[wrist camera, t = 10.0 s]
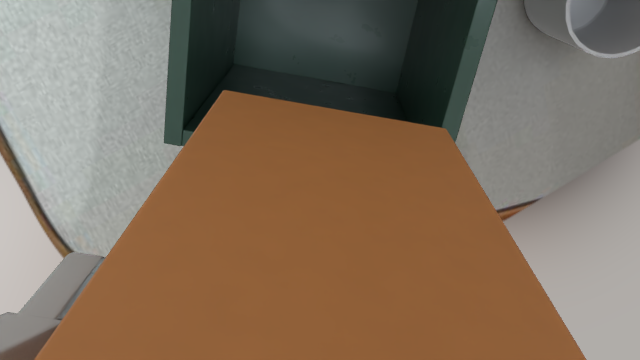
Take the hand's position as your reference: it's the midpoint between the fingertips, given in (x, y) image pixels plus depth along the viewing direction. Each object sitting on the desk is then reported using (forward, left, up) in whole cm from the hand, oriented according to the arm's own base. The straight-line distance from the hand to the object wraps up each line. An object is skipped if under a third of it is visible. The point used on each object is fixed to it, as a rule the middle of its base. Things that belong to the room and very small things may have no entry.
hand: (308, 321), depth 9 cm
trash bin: (0, -1, -39) cm, 39 cm away
